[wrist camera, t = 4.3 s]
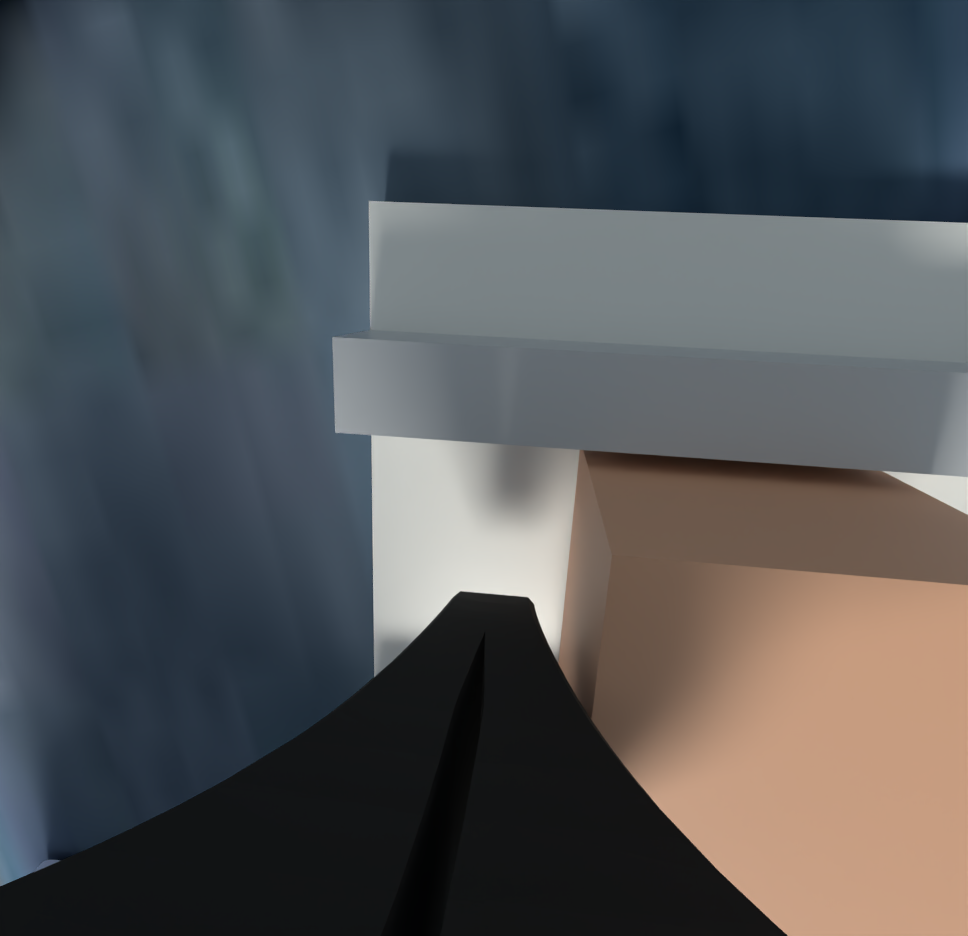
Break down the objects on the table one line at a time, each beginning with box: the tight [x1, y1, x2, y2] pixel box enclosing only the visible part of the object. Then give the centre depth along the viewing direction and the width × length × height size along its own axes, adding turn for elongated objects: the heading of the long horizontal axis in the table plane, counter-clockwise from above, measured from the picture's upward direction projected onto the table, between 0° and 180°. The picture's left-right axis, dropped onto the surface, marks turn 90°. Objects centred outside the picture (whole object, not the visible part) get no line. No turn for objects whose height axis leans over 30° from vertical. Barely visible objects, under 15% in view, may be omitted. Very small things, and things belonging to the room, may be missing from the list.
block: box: [558, 450, 968, 936], centre depth 9 cm, size 5×6×5 cm
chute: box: [332, 201, 968, 677], centre depth 10 cm, size 20×14×4 cm
